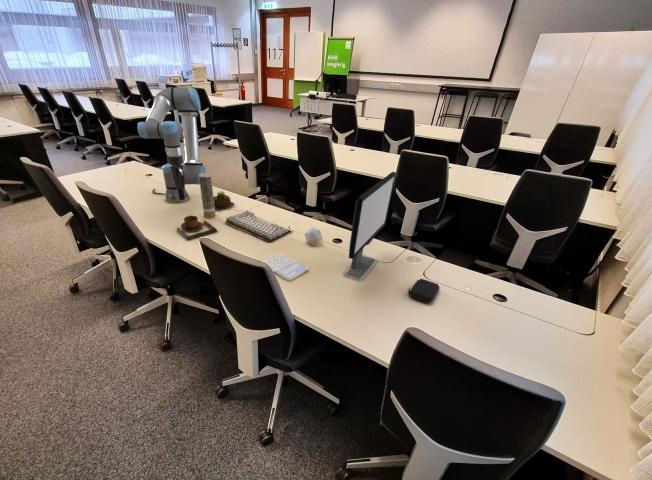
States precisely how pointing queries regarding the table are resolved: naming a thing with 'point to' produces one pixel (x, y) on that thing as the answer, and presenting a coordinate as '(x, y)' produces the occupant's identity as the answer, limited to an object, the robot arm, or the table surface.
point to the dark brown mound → (222, 201)
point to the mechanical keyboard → (256, 226)
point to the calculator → (285, 266)
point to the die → (313, 236)
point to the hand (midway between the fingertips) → (182, 199)
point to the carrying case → (424, 290)
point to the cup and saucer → (191, 224)
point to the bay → (212, 230)
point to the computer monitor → (368, 224)
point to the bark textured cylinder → (207, 195)
